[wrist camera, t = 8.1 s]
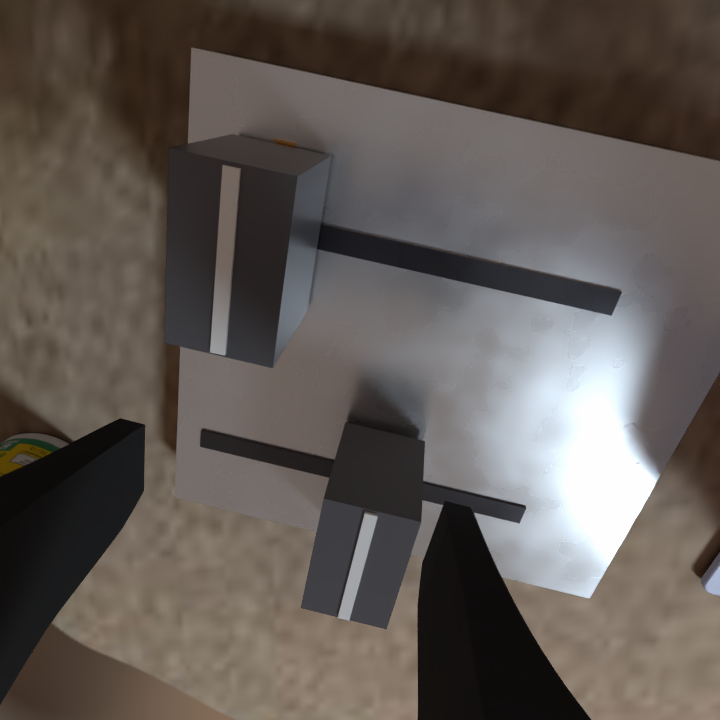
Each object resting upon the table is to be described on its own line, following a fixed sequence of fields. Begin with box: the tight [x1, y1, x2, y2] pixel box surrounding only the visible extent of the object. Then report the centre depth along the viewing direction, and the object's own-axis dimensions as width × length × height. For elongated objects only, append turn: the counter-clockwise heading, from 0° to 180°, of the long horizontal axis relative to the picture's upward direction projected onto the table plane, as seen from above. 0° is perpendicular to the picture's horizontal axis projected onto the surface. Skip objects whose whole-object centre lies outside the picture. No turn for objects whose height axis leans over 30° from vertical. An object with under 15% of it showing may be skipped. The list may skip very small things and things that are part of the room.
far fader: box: [301, 422, 425, 629], centre depth 19 cm, size 3×5×4 cm, turn 169°
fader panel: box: [175, 47, 720, 598], centre depth 20 cm, size 18×17×2 cm
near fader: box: [165, 134, 331, 368], centre depth 15 cm, size 3×5×4 cm, turn 169°
